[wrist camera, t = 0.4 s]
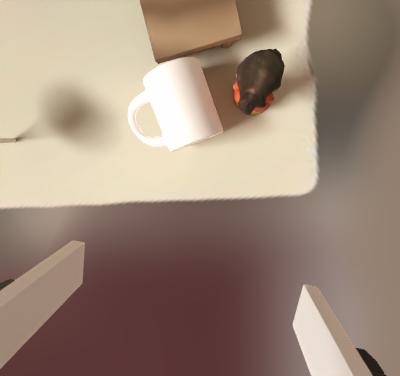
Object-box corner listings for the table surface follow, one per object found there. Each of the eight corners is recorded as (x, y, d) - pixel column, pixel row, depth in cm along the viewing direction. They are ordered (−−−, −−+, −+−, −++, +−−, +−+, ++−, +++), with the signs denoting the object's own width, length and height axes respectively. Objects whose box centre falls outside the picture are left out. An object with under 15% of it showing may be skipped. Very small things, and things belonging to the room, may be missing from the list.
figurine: (273, 114, 37) (296, 104, 25) (235, 121, 38) (241, 114, 26) (268, 69, 36) (289, 37, 24) (229, 77, 37) (232, 49, 25)
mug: (201, 67, 37) (195, 48, 29) (223, 132, 38) (224, 131, 30) (128, 98, 39) (104, 88, 31) (152, 159, 40) (135, 164, 32)
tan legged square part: (145, -8, 35) (130, -37, 30) (221, -35, 34) (221, -71, 28) (165, 72, 37) (155, 60, 31) (238, 51, 36) (242, 34, 30)
